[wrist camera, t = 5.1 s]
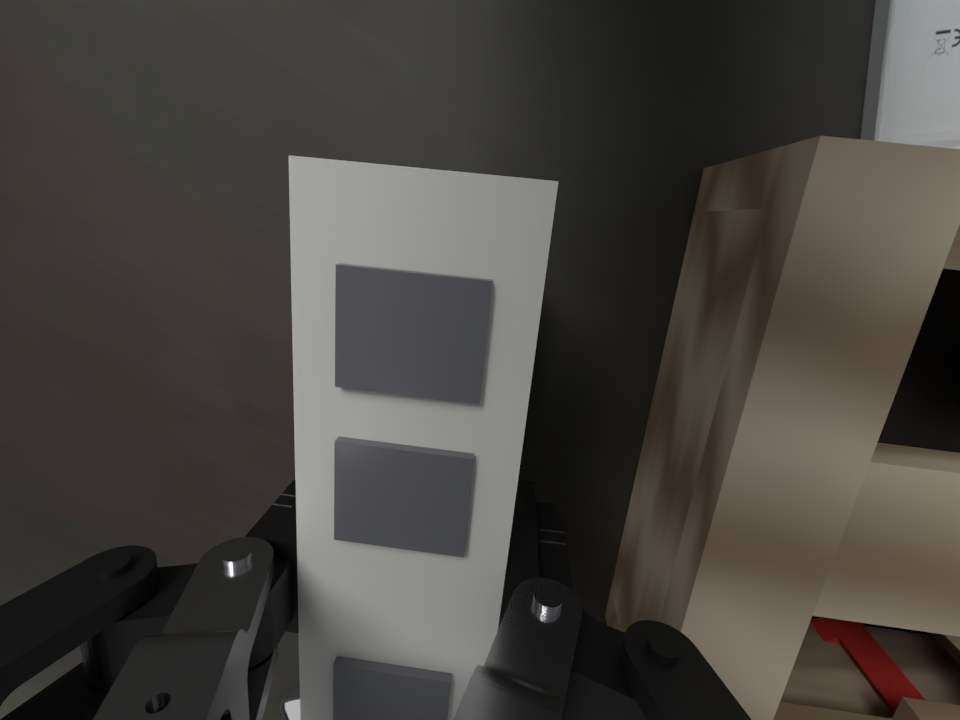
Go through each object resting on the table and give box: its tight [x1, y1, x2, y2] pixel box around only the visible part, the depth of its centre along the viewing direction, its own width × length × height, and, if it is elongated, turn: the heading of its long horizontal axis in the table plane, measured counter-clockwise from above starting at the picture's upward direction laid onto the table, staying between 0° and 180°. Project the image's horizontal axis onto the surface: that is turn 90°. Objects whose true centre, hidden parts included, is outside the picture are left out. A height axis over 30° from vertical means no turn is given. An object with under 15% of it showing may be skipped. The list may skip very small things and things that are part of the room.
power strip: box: [289, 156, 558, 720], centre depth 13 cm, size 16×4×9 cm, turn 174°
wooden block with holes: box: [605, 136, 960, 720], centre depth 16 cm, size 20×16×7 cm
